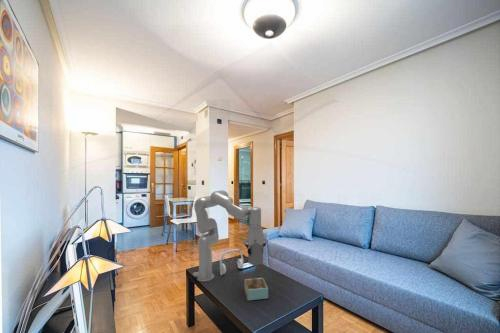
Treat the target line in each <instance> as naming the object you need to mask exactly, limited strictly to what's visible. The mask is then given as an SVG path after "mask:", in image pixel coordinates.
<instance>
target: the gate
mask: <svg viewBox="0 0 500 333" xmlns="http://www.w3.org/2000/svg"><path fill="white" fill-rule="evenodd" d="M266 299H269V287H268V288H259V289H250V290H247V298H246V301H255V300H266Z"/></svg>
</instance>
